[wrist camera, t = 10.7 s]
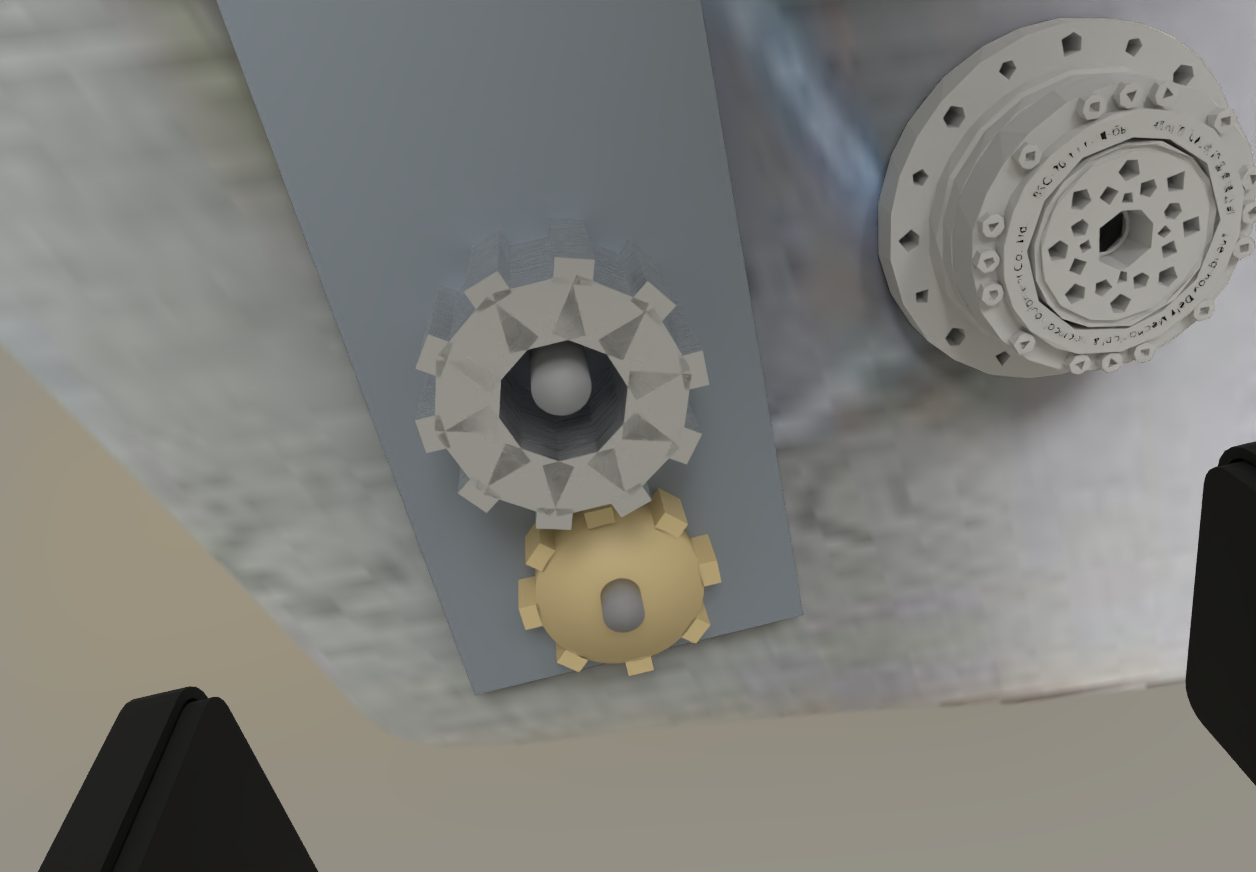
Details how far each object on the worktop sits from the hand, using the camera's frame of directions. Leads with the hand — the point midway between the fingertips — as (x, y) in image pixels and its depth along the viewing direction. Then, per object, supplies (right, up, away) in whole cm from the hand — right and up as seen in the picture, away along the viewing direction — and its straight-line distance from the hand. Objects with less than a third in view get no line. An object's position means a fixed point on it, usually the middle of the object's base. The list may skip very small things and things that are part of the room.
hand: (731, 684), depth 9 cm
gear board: (-3, +7, +18) cm, 20 cm away
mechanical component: (+11, +9, +19) cm, 24 cm away
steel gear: (-3, +5, +17) cm, 18 cm away
